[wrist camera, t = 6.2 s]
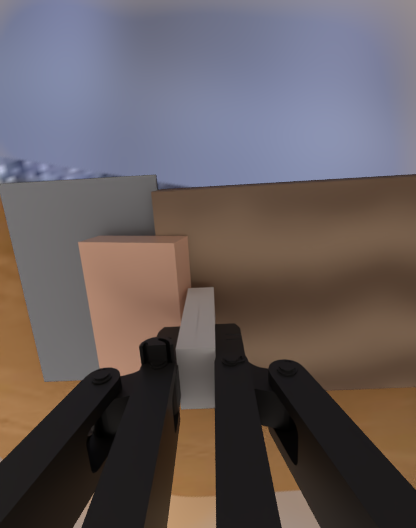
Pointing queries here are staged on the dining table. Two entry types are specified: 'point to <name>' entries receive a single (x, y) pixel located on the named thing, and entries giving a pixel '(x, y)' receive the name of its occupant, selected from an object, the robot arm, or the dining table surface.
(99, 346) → the tile
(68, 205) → the mat
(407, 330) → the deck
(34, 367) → the dining table surface
